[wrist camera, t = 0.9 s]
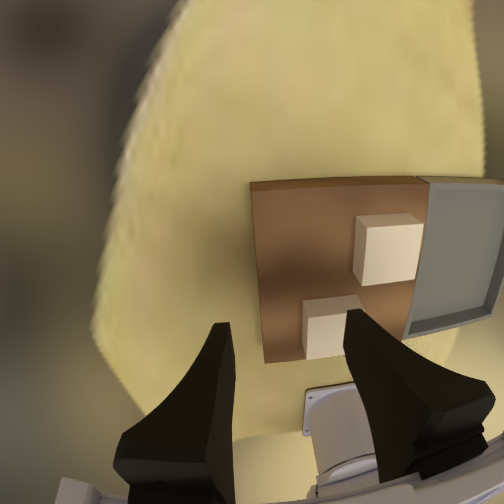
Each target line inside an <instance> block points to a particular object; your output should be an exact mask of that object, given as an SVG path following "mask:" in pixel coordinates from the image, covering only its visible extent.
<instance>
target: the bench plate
mask: <svg viewBox="0 0 504 504" xmlns="http://www.w3.org/2000/svg"><path fill="white" fill-rule="evenodd" d="M429 185H430V184H428V183H426V182H424V181H422V180H420V179H418V178H416V177H414V176H362V177H331V178H310V179H292V180H277V181H263V182H251V183H250V189H251V201H252V213H253V226H254V238H255V251H256V263H257V276H258V289H259V301H260V314H261V327H262V340H263V351H264V361H265V364H266V363H277V362H286V361H295V360H304V359H306V357H305V353H304V348H303V344H302V322H303V300H312V299H321V298H330V297H339V296H347V295H355V294H357V296H358V298H359V300H360V301H361V303H362V305H363V307H364V309H365V313H366V314H368V315H369V316H370V317H371V318H372V319H373V320H374V321H376V322H377V323H378V324H379V325H380V326H381V327H383V328H384V329H385V330H386V331H387V332H389V333H390V334H391V335H392V336H393V337H395V338H396V339H397V340H399V341H400V342H401V341H402V337H403V333H404V330H405V326H406V322H407V318H408V314H409V310H410V305H411V301H412V297H413V292H414V287H415V283H416V278H417V272H418V267H419V262H420V256H421V250H422V244H423V237H424V230H425V223H426V214H427V206H428V196H429ZM401 213H410V214H411V215H413V216H414V217H415V218H417V219H418V220H419V221H421V222H422V223H423V224H424V225H423V233H422V240H421V246H420V252H419V258H418V264H417V270H416V275H415V279H413V280H406V281H399V282H391V283H384V284H376V285H368V286H361V284H360V282H359V281H358V279H357V278H356V276H355V274H354V273H353V271H352V270H353V257H354V243H355V227H356V216H365V215H382V214H401Z"/></svg>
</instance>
